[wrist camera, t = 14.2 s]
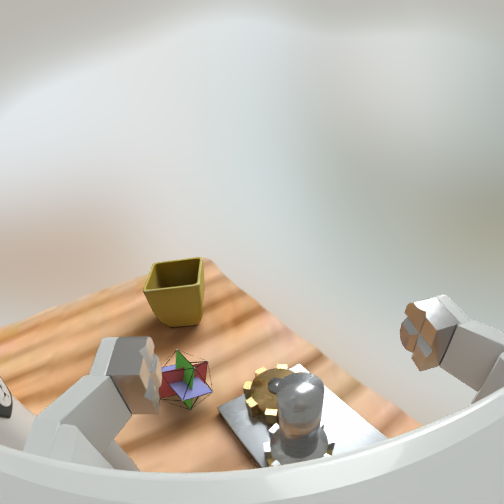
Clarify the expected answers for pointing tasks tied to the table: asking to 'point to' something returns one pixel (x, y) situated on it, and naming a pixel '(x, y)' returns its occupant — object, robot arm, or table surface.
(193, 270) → the flower pot
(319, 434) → the gear
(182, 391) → the geometric puzzle
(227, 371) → the table surface
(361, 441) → the carrier
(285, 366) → the sun gear
